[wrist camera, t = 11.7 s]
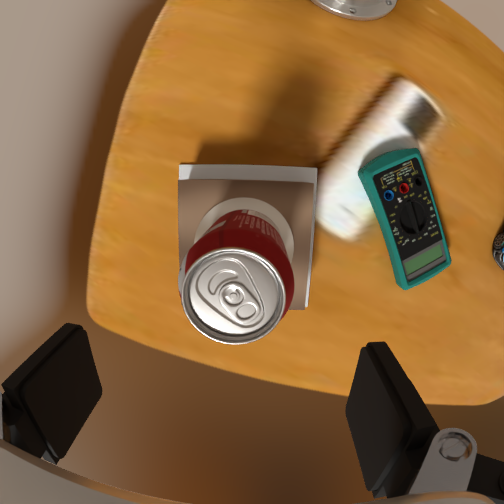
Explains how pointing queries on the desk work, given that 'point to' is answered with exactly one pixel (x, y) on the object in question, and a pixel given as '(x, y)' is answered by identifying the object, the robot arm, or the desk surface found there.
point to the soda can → (237, 278)
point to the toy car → (499, 250)
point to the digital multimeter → (406, 215)
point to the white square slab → (257, 174)
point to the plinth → (258, 199)
